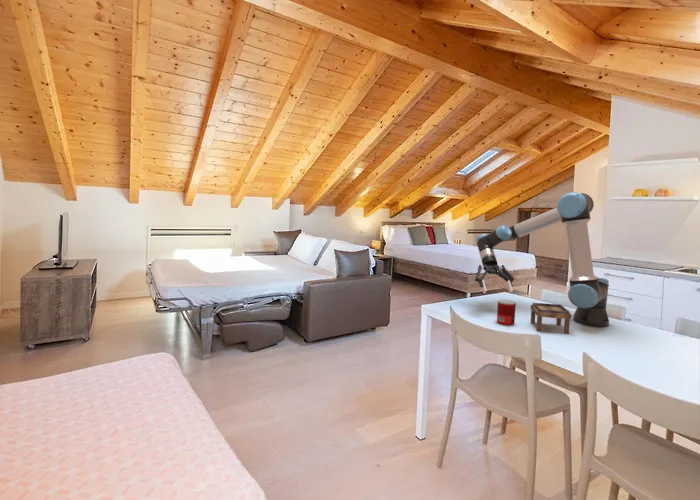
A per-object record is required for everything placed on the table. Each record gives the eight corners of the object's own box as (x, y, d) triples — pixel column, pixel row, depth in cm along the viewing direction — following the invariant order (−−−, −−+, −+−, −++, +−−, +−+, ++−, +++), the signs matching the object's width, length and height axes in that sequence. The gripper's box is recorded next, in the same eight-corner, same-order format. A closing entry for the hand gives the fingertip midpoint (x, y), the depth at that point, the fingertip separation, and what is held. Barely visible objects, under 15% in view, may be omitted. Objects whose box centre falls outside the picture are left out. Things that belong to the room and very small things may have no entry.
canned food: (515, 326, 180) (517, 304, 179) (498, 325, 182) (499, 302, 180) (512, 321, 187) (513, 300, 186) (495, 320, 189) (496, 298, 188)
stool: (560, 324, 183) (562, 304, 182) (569, 334, 170) (571, 312, 169) (529, 322, 187) (530, 302, 185) (536, 331, 173) (538, 309, 172)
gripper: (508, 263, 208) (519, 296, 195) (464, 262, 208) (472, 295, 195) (513, 255, 202) (525, 288, 189) (467, 254, 202) (476, 288, 189)
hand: (498, 292), depth 192 cm, fingers open, 13 cm apart
